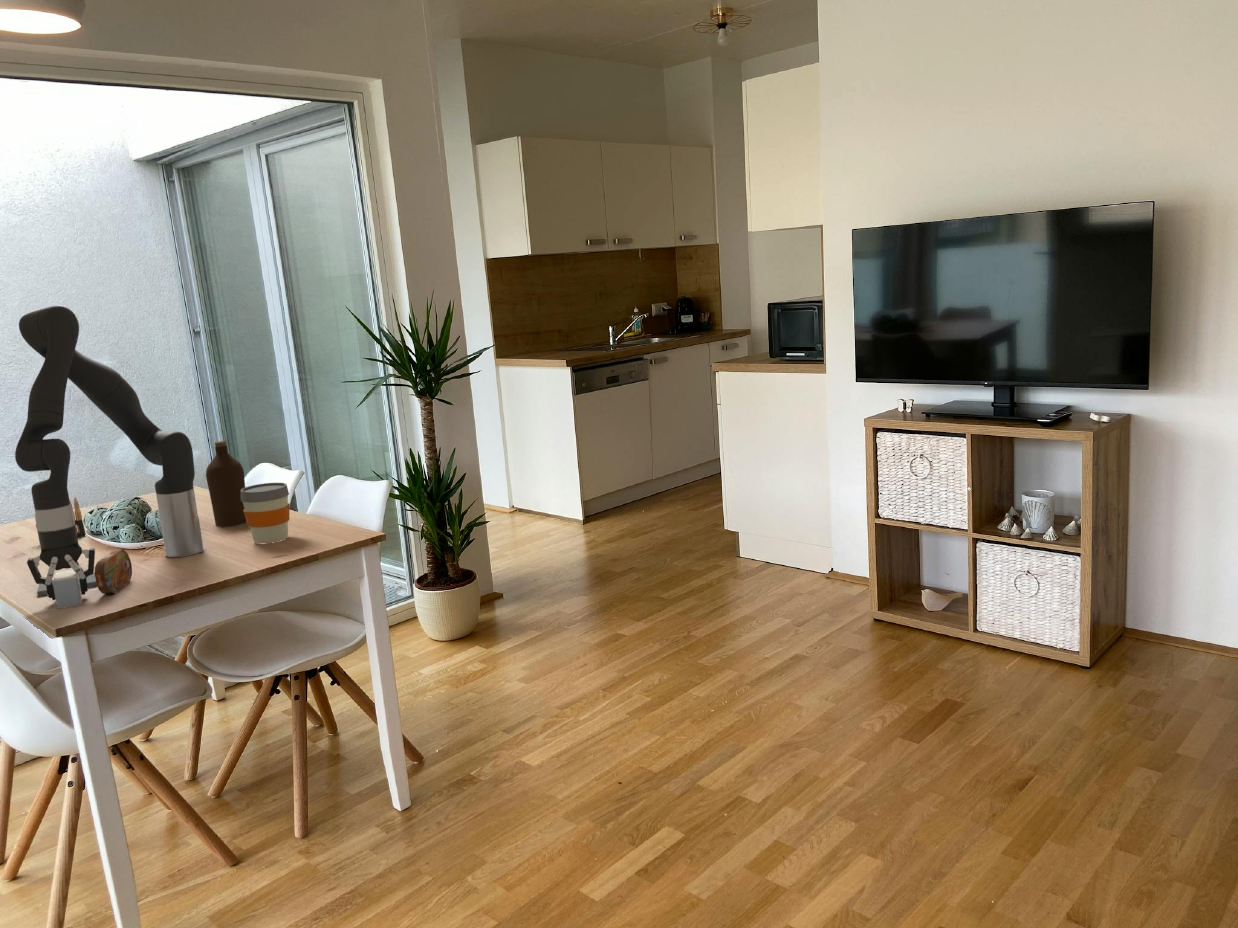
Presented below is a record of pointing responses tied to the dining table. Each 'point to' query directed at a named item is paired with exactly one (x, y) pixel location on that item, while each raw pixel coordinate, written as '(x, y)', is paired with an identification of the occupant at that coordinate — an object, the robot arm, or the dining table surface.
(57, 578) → the box
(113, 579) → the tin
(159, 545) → the dining table surface
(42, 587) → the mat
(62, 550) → the robot arm
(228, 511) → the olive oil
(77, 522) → the ammunition clip
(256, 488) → the reusable coffee cup
